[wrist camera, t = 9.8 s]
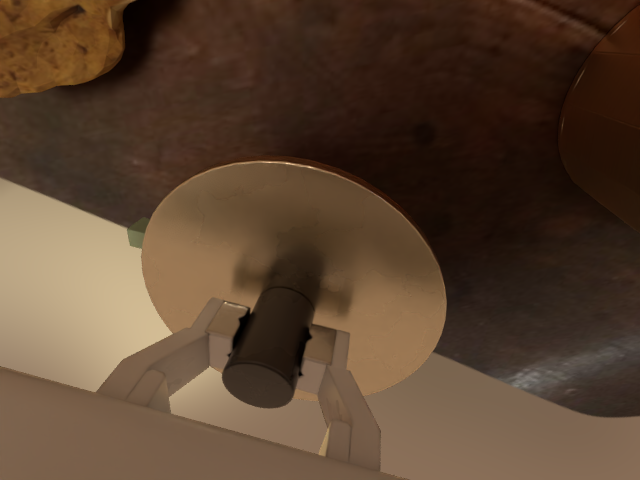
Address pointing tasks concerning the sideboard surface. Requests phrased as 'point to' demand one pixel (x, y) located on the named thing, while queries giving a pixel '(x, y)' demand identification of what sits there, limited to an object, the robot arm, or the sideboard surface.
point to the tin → (607, 122)
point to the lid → (296, 271)
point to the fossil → (58, 42)
